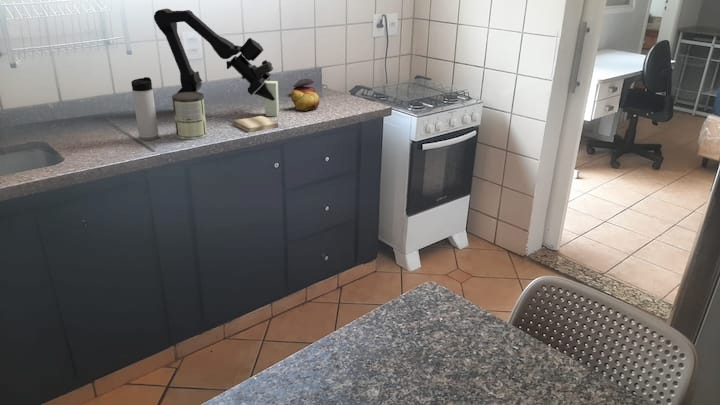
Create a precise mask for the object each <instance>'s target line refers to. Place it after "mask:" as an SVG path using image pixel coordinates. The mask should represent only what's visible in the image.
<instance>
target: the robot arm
mask: <svg viewBox="0 0 720 405" xmlns="http://www.w3.org/2000/svg"><path fill="white" fill-rule="evenodd" d="M153 19H154V22H155V24H156V26H157V27H158V29H159V30H160V31H161V32H162V34H163V35H164V37H165V39H166V41H167V44H168V46H169V48H170V49H171V53H172V55H173V58H174V60H175V64H176V66H177V68H178V70H179V74H180V75H179V76H180V77H179V80H180V84H181V88H179V90H178V91H177V92H176V93H181V92H199V90H200V89H201V88H202V86H203V84H202V82H203V80H202V78H201V76H200V72H199V71H194V69H193V68H192V66H191V63H190V61H189V59H188V56H187V54H186V51H185V49H184V46H183V44H182V40H181V39H180V36H179V32H178V23H183V22H184V23H186V24H187V25H188V26H189V27H190V28H191V29H192V30H193V31H195V32H196V33H197V34H198V35H199V36H201V38H203V39H204V40H205V41H206V42H208V43H209V45H210V46H211V47H212V50H214V52H215V53H216V54H217V56H219V58H220V59H222V60H227V61H225V62H226V69H227V70H229V69H230V68H233V69H234V70H235V71H237V73H238V74H240V76H241V77H240V78H241V79H242V80H245V81H246V82H248V84H249V85H248V87H247V93H248V94H250V96H252V95H253V94H254V95H257V96H259V97H262V98H264V99H265V98H267V99H270V100H272V101H274V100H275V98H274V97H273V95H272V94H271V93H270V91H269V90H268V89H267V87H266V81H271V77H270V76H271V73H270V72H272V71H273V70H274V67H273V66H272V65H273V64H272V62H271V61H268V60H267V59H265V60H263V61H262V62H261V64H260V65H259V66H256V65H255V64H253V65H252V63H250V62H249V61H252V62H253V61H256V59H257V58H258V57H259V56H260V55H261V54H262V53H263V52H264V48H263V47H262V45H261V44H260V43H259V42H257V41H256V40H254V39H252V38H251V37H249V38H248V39H246V42H245V43H244V44H243V45H242V46H240V45H236V44H235V43H233V42H231V41H230V40H228V39H226V38H225V37H223V36H221V35H219V34H217V33H216V32H215V31H214V30H212V28H211V27H209V26H208V25H207V24H205V22H204V21H202V20H201V19H200V18H199V17H197V16H196V15H195V13H194V12H192V11H191V10H190V9H186V10H171V9H170V8H162V9H158V10H156V11H155V12H154V15H153ZM238 54H239V55H238ZM236 55H238V56H236ZM230 58H231V60H228V59H230Z"/></svg>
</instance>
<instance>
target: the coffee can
mask: <svg viewBox="0 0 720 405" xmlns="http://www.w3.org/2000/svg"><path fill="white" fill-rule="evenodd" d="M204 96H205V95H204V93H203V92H202V93H201V92H199V91H198V92H181V93H177V92H176V93H174V94H172V95H171V99H172V106H173V115H174V122H175V131H176V132H175V133H176V137H177V138H178V139H182V140H197V139H202V138H205V137H206V136H208V133H207V132H208V130H207V124H206V123H207V122H206V111H205V100H204V98H205V97H204Z"/></svg>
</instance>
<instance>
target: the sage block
mask: <svg viewBox="0 0 720 405" xmlns="http://www.w3.org/2000/svg"><path fill="white" fill-rule="evenodd" d="M266 87H267V89H268V90H269V91H270V93H271V94H272V95H273V97H274V98H275V100H274V101H272V100H270V99H267V98H265V97H264V105H265V106H264V108H265V111H264V112H265V117H278V115H279V114H280V109H279V108H280V105H279V104H280V103H279V82H278V80H270V81H266Z"/></svg>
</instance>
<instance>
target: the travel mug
mask: <svg viewBox="0 0 720 405" xmlns="http://www.w3.org/2000/svg"><path fill="white" fill-rule="evenodd" d="M153 89H154V88H153V84H152V79H151V78H150V77H146V76H145V77H141V78H135V79H134V80H132V81H131V90H132V98H133V105H134V111H135V118H136V125H137V132H138V138H139V140H141V141H149V142H150V141H155V140H157V139H158V138H160V137H159V130H158V129H159V128H158V122H157V120H158V119H157V113H156V105H155V99H154V98H155V97H154V91H153Z"/></svg>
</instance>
